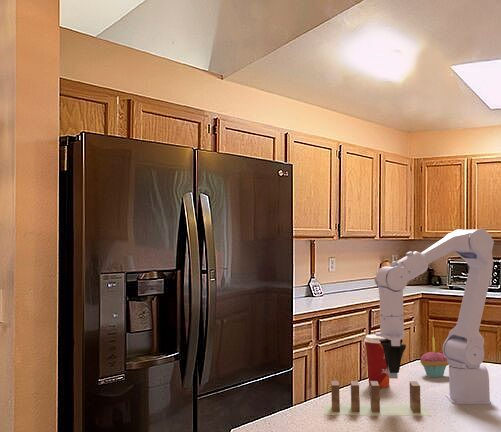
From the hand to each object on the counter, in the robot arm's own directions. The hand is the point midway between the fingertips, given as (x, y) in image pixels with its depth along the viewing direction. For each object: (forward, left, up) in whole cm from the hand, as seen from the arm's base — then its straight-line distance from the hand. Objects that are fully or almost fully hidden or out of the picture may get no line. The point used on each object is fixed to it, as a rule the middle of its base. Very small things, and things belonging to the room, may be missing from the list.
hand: (392, 370), depth 150 cm
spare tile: (0, 0, -2) cm, 2 cm away
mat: (+5, +2, -9) cm, 11 cm away
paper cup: (+1, -23, -10) cm, 25 cm away
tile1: (-5, +2, -9) cm, 10 cm away
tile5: (+14, +2, -9) cm, 17 cm away
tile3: (+5, +2, -9) cm, 11 cm away
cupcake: (-17, -35, -10) cm, 40 cm away
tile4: (+9, +2, -9) cm, 13 cm away
